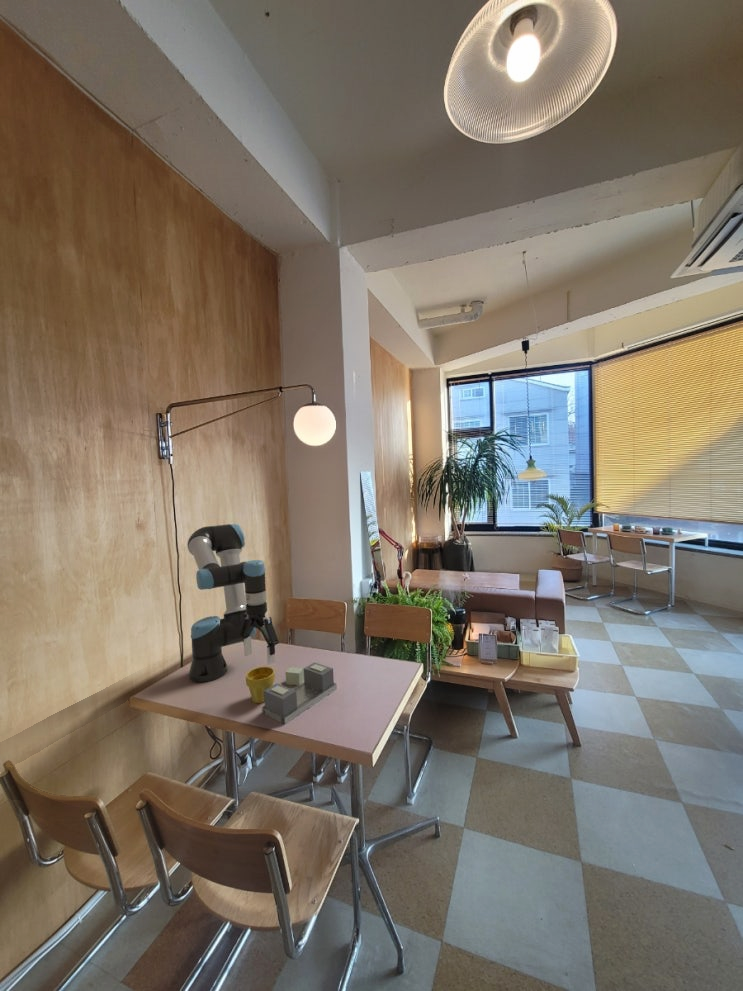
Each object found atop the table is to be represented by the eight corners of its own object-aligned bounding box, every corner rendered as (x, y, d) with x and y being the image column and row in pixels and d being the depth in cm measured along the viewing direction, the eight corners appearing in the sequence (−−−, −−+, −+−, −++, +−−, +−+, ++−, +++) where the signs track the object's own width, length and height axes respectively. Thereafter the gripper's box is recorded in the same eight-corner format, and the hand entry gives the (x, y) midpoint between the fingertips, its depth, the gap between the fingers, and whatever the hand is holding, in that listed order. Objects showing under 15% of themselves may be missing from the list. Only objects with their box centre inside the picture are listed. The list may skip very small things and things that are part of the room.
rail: (262, 712, 137) (261, 707, 137) (314, 680, 158) (314, 675, 158) (285, 724, 130) (284, 718, 130) (336, 688, 151) (336, 683, 151)
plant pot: (268, 707, 141) (266, 680, 140) (241, 705, 143) (240, 678, 142) (280, 691, 151) (278, 666, 151) (255, 690, 153) (254, 665, 153)
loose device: (286, 684, 157) (285, 672, 156) (290, 679, 160) (290, 667, 160) (299, 685, 155) (298, 673, 155) (304, 680, 159) (303, 668, 159)
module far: (304, 683, 152) (303, 667, 152) (315, 677, 157) (314, 661, 157) (323, 690, 146) (322, 674, 146) (333, 683, 151) (332, 667, 151)
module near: (264, 707, 137) (263, 689, 137) (278, 699, 142) (277, 682, 142) (283, 716, 131) (282, 697, 131) (297, 707, 136) (296, 689, 136)
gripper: (227, 600, 150) (231, 655, 151) (269, 610, 135) (273, 670, 136) (244, 595, 156) (247, 648, 157) (286, 604, 141) (289, 662, 142)
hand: (259, 658), depth 146 cm, fingers open, 13 cm apart
